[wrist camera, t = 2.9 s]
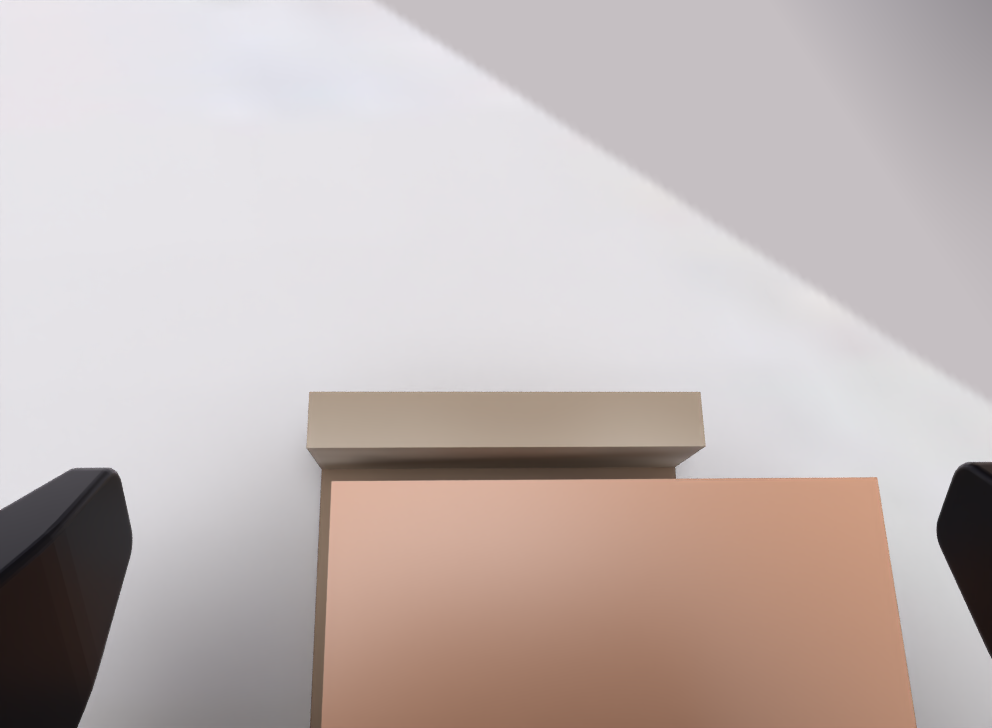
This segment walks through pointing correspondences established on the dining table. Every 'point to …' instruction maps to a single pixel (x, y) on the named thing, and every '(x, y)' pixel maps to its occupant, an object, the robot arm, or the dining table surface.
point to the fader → (612, 605)
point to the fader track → (489, 447)
